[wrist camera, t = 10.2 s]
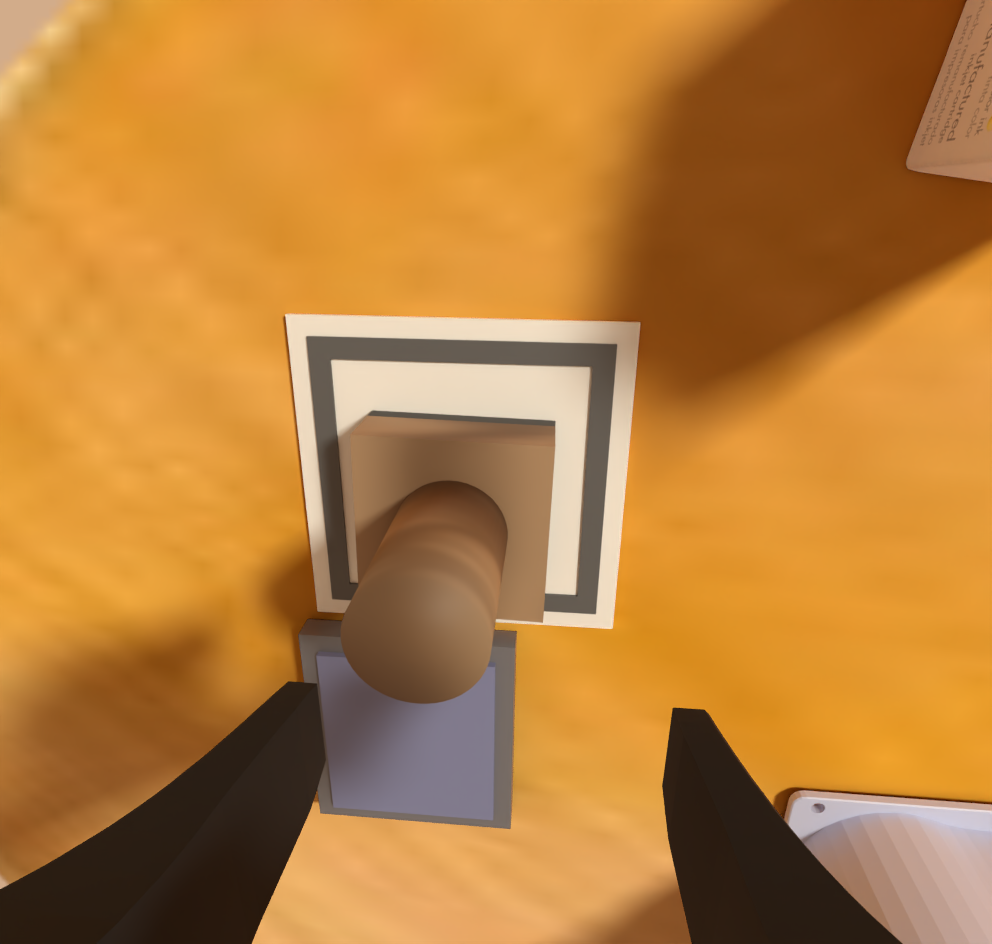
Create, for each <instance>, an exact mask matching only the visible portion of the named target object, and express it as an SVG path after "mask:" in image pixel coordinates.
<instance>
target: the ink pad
mask: <svg viewBox="0 0 992 944" xmlns="http://www.w3.org/2000/svg"><path fill="white" fill-rule="evenodd" d="M341 624H342V621H334V620H317V619H307V621H306V623H305V624H304V626H303V628H302V629H301V631H300V633H299V634H298V636H299V644H300V652H301V660H302V668H303V676H304V683H317V687H318V695H319V704H320V713H321V721H322V730H323V738H324V747H325V756H326V762H325V765H324V768H323V772H322V775H321V778H320V782H319V785H318V788H317V790H318V798H319V806H320V813H323V814H335V815H348V816H360V817H372V818H384V819H396V820H408V821H420V822H432V823H445V824H457V825H469V826H481V827H493V828H505V829H510V828H511V815H512V789H513V750H514V711H515V673H516V634H517V631H502V630H494V635H493V642H492V649H491V655H490V660H489V663H488V666H487V668H486V671H485V673H484V674H483V676H482V677H481V679H480V680H479V681H478V682H477V683H476V684H475V685H474V686H473V687H472V688H471V689H469V690H468V691H467V692H465V693H463V694H462V695H460V696H458V697H456V698H453V699H451V700H447V701H444V702H439V703H431V704H416V703H409V702H404V701H400V700H396V699H394V698H391V697H388V696H386V695H384V694H382V693H380V692H378V691H377V690H375V689H373V688H372V687H370V686H369V685H368V684H367V683H365V682H364V681H363V680H362V679H361V678H360V677H359V676H358V675H357V674H356V672H355V671H354V670H353V669H352V667H351V666H350V664H349V662H348V661H347V659H346V656H345V654H344V651H343V648H342V644H341Z"/></svg>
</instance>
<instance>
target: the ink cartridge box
mask: <svg viewBox="0 0 992 944" xmlns="http://www.w3.org/2000/svg"><path fill="white" fill-rule="evenodd" d="M906 167H907V168H908V169H910V170H913V171H917V172H923V173H930V174H937V175H943V176H950V177H957V178H964V179H971V180H977V181H984V182H991V183H992V0H967V1H966V4H965V7H964V9H963V12H962V14H961V17H960V20H959V22H958V25H957V27H956V30H955V33H954V35H953V38H952V41H951V43H950V46H949V49H948V51H947V54H946V57H945V60H944V62H943V65H942V68H941V70H940V73H939V75H938V78H937V81H936V83H935V86H934V88H933V91H932V93H931V96H930V99H929V101H928V104H927V107H926V109H925V112H924V114H923V117H922V120H921V122H920V125H919V128H918V130H917V133H916V136H915V138H914V141H913V144H912V146H911V149H910V152H909V154H908V157H907V160H906Z"/></svg>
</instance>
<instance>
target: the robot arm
mask: <svg viewBox="0 0 992 944" xmlns="http://www.w3.org/2000/svg"><path fill="white" fill-rule="evenodd" d="M325 762H326V756H325V747H324V738H323V730H322V721H321V713H320V704H319V695H318V687H317V683H304V682H287V683H286V684H285V685H284V686H283V687H282V688H281V689H279V690H278V691H277V692H276V693H275V694H274V695H273V696H271V697H270V698H269V699H268V700H267V701H266V702H265V703H264V704H263V705H261V706H260V707H259V708H258V709H257V710H256V711H255V712H254V713H253V714H252V715H250V716H249V717H248V718H247V719H246V720H245V721H244V722H243V723H242V724H240V725H239V726H238V727H237V728H236V729H235V730H234V731H233V732H231V733H230V734H229V735H228V736H227V737H226V738H224V739H223V740H222V741H221V742H220V743H219V744H218V745H216V746H215V747H214V748H213V749H212V750H211V751H209V752H208V753H207V754H206V755H205V756H204V757H202V758H201V759H200V760H199V761H197V762H196V763H195V764H194V765H192V766H191V767H190V768H189V769H187V770H186V771H185V772H184V773H182V774H181V775H180V776H179V777H177V778H176V779H175V780H174V781H172V782H171V783H170V784H169V785H167V786H166V787H165V788H163V789H162V790H161V791H159V792H158V793H157V794H155V795H154V796H153V797H151V798H150V799H148V800H147V801H146V802H144V803H143V804H142V805H140V806H139V807H137V808H136V809H134V810H133V811H131V812H130V813H128V814H127V815H125V816H124V817H123V818H121V819H120V820H118V821H117V822H115V823H114V824H112V825H111V826H109V827H108V828H106V829H104V830H103V831H101V832H100V833H98V834H96V835H95V836H93V837H91V838H90V839H88V840H86V841H85V842H83V843H81V844H80V845H78V846H76V847H75V848H73V849H72V850H70V851H68V852H67V853H65V854H63V855H62V856H60V857H58V858H57V859H55V860H53V861H52V862H50V863H48V864H46V865H45V866H43V867H41V868H39V869H37V870H35V871H34V872H32V873H30V874H28V875H26V876H25V877H23V878H21V879H19V880H17V881H15V882H13V883H11V884H9V885H8V886H6V887H4V888H2V889H0V944H252V941H253V939H254V936H255V934H256V931H257V929H258V926H259V924H260V922H261V919H262V917H263V915H264V913H265V910H266V908H267V906H268V904H269V902H270V899H271V897H272V895H273V893H274V890H275V888H276V886H277V884H278V882H279V879H280V877H281V875H282V873H283V871H284V868H285V866H286V864H287V862H288V859H289V857H290V855H291V853H292V851H293V848H294V846H295V844H296V842H297V839H298V837H299V835H300V833H301V830H302V828H303V826H304V823H305V821H306V819H307V817H308V814H309V812H310V810H311V807H312V803H313V800H314V797H315V794H316V791H317V788H318V785H319V782H320V778H321V775H322V772H323V768H324V765H325ZM662 787H663V796H664V806H665V815H666V823H667V831H668V839H669V844H670V849H671V853H672V858H673V862H674V867H675V871H676V876H677V880H678V885H679V889H680V893H681V898H682V902H683V907H684V911H685V915H686V920H687V924H688V929H689V933H690V937H691V942H692V944H992V805H991V804H978V803H964V802H951V801H938V800H925V799H911V798H898V797H885V796H872V795H858V794H845V793H832V792H819V791H805V790H801V791H797V792H794V793H793V794H792V795H791V796H790V798H789V800H788V805H787V809H786V813H785V817H784V819H783V818H782V817H781V815H780V814H779V813H778V812H777V810H776V809H775V808H774V807H773V805H772V804H771V803H770V801H769V800H768V799H767V797H766V796H765V795H764V793H763V792H762V791H761V789H760V788H759V787H758V785H757V784H756V783H755V781H754V780H753V779H752V777H751V776H750V775H749V773H748V772H747V770H746V769H745V768H744V766H743V765H742V763H741V762H740V760H739V759H738V758H737V756H736V755H735V753H734V752H733V750H732V749H731V747H730V746H729V744H728V743H727V741H726V740H725V738H724V737H723V735H722V734H721V732H720V731H719V729H718V728H717V726H716V725H715V723H714V721H713V720H712V718H711V717H710V715H709V714H708V713H707V712H706V711H705V710H700V709H686V708H673V711H672V718H671V725H670V733H669V740H668V748H667V755H666V763H665V770H664V778H663V785H662ZM817 803H818V804H817ZM814 804H816V805H814Z"/></svg>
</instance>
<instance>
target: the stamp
mask: <svg viewBox="0 0 992 944" xmlns="http://www.w3.org/2000/svg"><path fill="white" fill-rule="evenodd" d="M555 423H556V421H552V420H535V419H517V418H499V417H482V416H464V415H446V414H428V413H411V412H393V411H375V410H372V411H371V412H370V413H369V414H368V416H367V417H366V418H365V419H364V420H363V421H362V422H361V423H360V424H359V425H358V427H357V428H356V429H355V430H354V431H353V432H352V433H351V434H350V444H351V462H352V480H353V499H354V517H355V535H356V553H357V572H358V588H357V590H356V592H355V594H354V596H353V598H352V600H351V602H350V604H349V606H348V608H347V609H346V611H345V613H344V616H343V619H342V624H341V644H342V648H343V651H344V654H345V656H346V659H347V661H348V662H349V664H350V666H351V667H352V669H353V670H354V671H355V672H356V674H357V675H358V676H359V677H360V678H361V679H362V680H363V681H364V682H365V683H367V684H368V685H369V686H370V687H372V688H373V689H375V690H377V691H378V692H380V693H382V694H384V695H386V696H388V697H391V698H394V699H396V700H400V701H404V702H409V703H416V704H431V703H439V702H444V701H447V700H451V699H453V698H456V697H458V696H460V695H462V694H463V693H465V692H467V691H468V690H469V689H471V688H472V687H473V686H474V685H475V684H476V683H477V682H478V681H479V680H480V679H481V677H482V676H483V674H484V673H485V671H486V668H487V666H488V663H489V660H490V655H491V649H492V642H493V635H494V628H495V622H496V619H503V620H516V621H529V622H542V623H543V616H544V601H545V587H546V573H547V559H548V544H549V530H550V516H551V502H552V488H553V473H554V459H555Z"/></svg>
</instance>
